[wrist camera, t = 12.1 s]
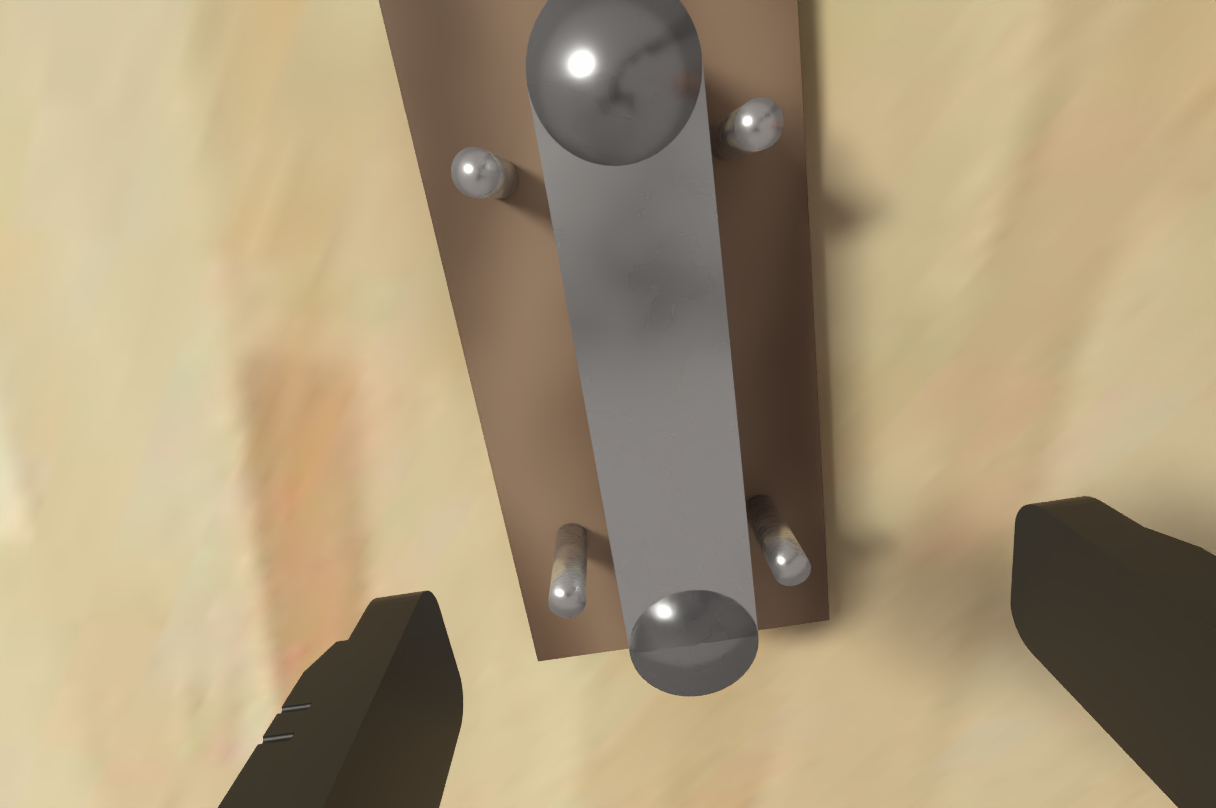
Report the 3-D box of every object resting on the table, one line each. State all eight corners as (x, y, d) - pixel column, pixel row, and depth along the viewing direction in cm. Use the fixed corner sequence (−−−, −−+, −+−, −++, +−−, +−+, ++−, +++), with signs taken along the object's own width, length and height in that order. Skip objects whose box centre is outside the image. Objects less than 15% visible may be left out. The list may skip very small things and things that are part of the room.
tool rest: (780, -67, 18) (849, -168, 13) (819, 601, 26) (871, 695, 21) (390, 3, 19) (315, -69, 14) (540, 641, 26) (527, 743, 21)
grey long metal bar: (666, 18, 18) (692, -48, 13) (730, 591, 24) (763, 686, 19) (532, 42, 18) (508, -15, 13) (630, 605, 24) (638, 704, 19)
